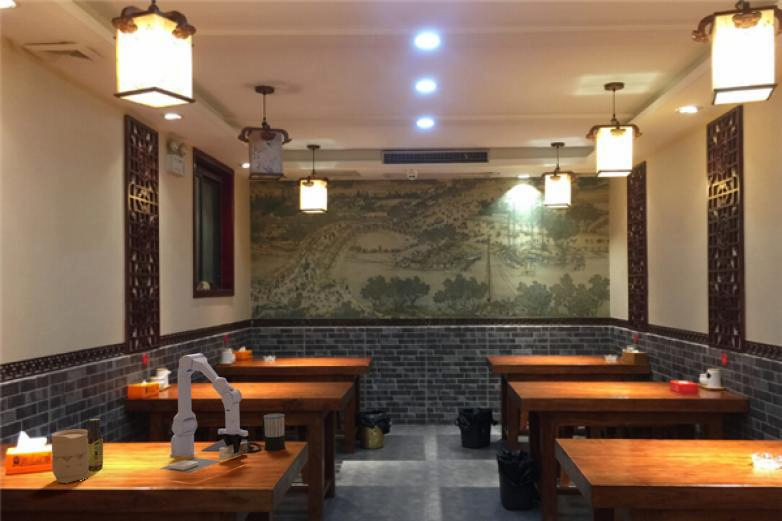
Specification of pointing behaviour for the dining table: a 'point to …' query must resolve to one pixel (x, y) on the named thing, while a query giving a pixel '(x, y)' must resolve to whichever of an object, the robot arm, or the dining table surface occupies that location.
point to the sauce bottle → (95, 445)
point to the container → (70, 455)
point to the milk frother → (271, 434)
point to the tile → (184, 465)
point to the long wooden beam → (232, 451)
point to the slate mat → (202, 464)
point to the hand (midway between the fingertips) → (233, 452)
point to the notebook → (218, 446)
